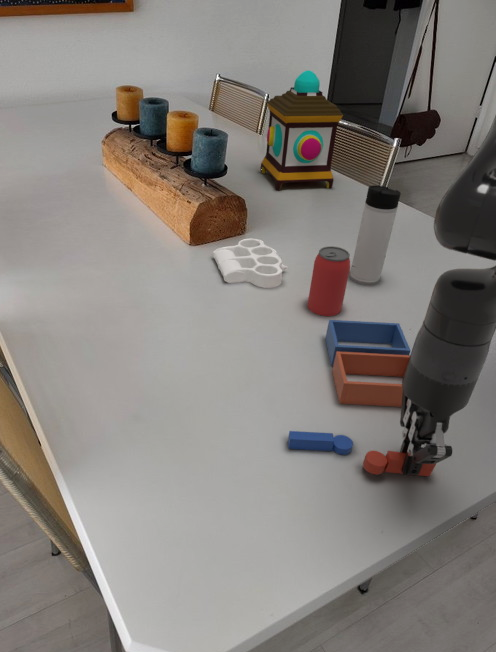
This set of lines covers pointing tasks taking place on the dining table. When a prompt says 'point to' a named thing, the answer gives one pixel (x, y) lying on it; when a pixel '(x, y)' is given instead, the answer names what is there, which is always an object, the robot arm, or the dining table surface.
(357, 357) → the terracotta bin
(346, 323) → the blue bin
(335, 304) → the beer can
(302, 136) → the decorative lantern
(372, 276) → the travel mug
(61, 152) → the dining table surface
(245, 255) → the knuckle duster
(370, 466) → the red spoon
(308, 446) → the blue spoon
